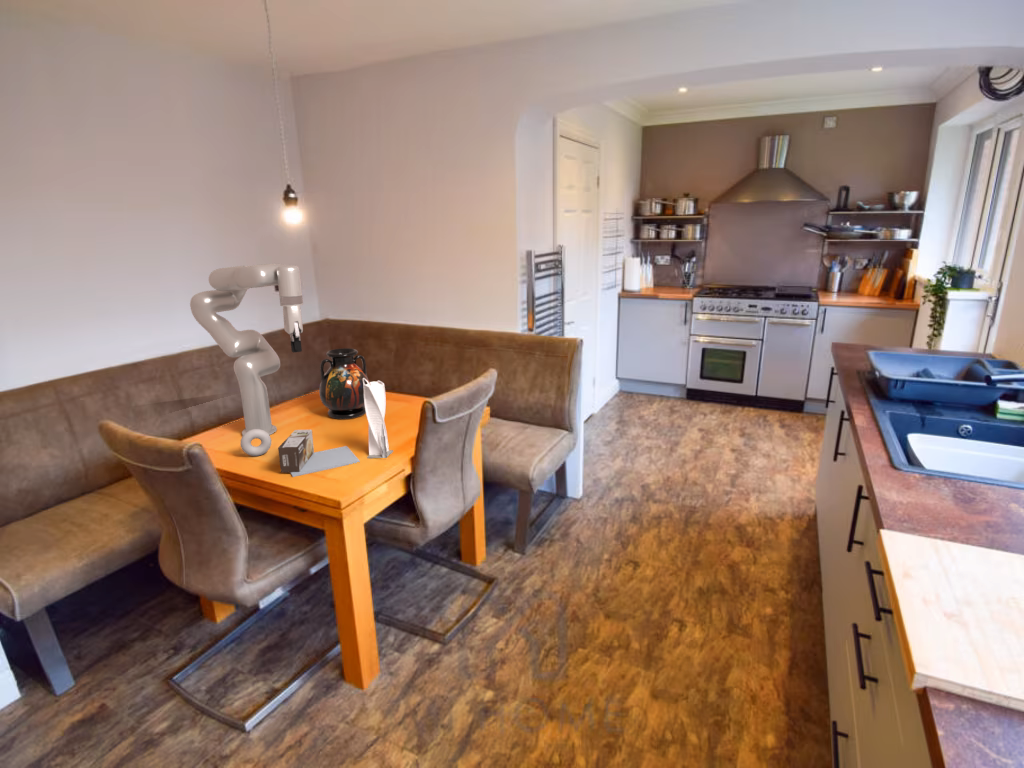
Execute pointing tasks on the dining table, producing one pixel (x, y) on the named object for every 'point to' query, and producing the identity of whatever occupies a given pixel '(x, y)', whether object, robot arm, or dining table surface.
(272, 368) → the robot arm
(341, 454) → the mat
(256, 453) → the donut
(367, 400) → the skyscraper
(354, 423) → the dining table surface
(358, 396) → the amphora vase
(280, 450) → the coffee box
